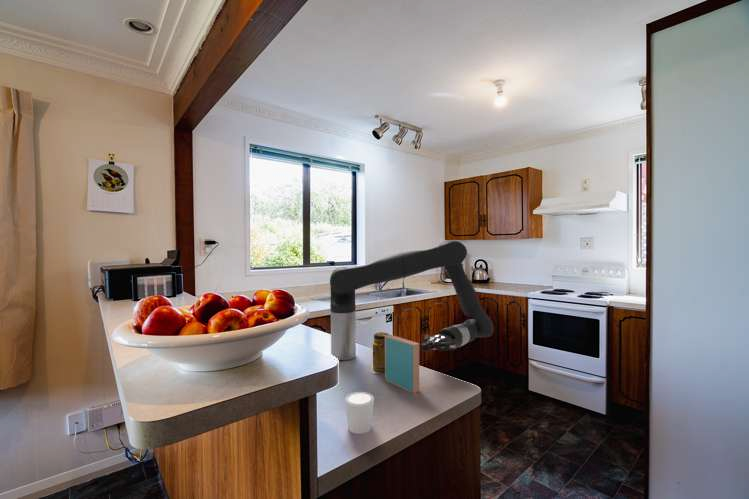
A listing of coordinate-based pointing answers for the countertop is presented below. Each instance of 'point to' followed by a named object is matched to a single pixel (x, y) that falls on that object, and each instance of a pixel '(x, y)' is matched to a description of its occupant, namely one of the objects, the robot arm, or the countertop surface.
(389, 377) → the tile
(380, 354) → the condiment
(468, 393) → the countertop surface
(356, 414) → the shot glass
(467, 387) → the countertop surface
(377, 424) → the countertop surface
